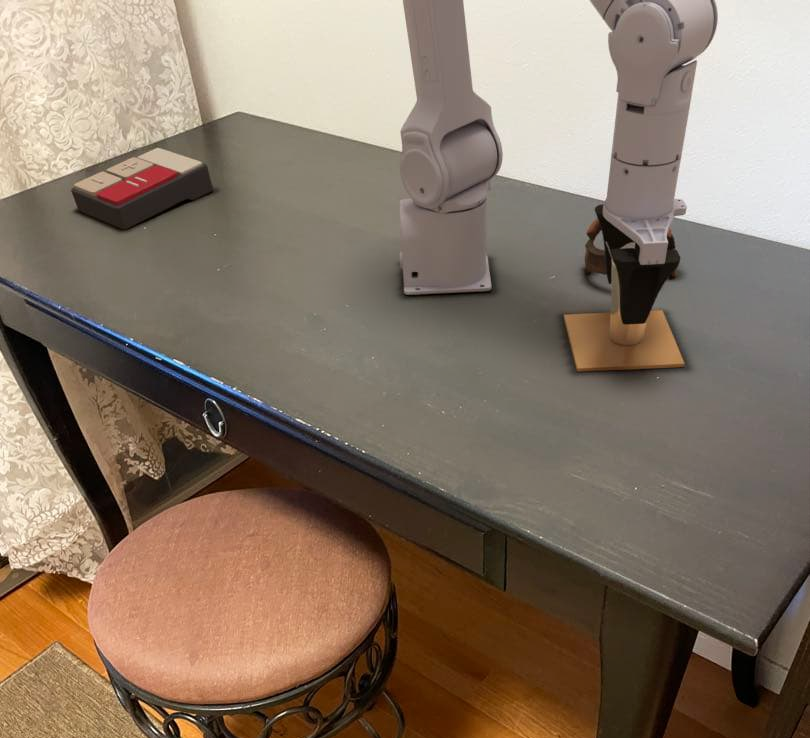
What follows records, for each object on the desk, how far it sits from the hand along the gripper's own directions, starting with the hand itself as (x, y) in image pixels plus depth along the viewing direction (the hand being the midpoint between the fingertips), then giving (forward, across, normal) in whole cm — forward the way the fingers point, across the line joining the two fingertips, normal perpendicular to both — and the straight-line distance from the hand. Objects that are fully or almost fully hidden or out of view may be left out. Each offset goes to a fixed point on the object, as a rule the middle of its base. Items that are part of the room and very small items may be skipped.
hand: (625, 301), depth 80 cm
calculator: (+5, +41, +57) cm, 70 cm away
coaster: (+4, 0, 0) cm, 4 cm away
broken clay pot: (+4, +15, -4) cm, 16 cm away
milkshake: (+4, 0, 0) cm, 4 cm away
